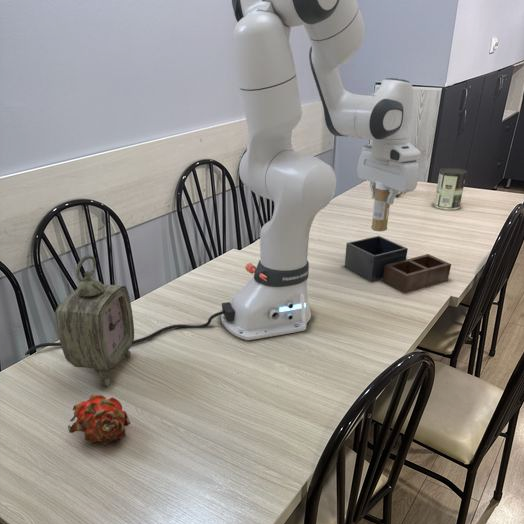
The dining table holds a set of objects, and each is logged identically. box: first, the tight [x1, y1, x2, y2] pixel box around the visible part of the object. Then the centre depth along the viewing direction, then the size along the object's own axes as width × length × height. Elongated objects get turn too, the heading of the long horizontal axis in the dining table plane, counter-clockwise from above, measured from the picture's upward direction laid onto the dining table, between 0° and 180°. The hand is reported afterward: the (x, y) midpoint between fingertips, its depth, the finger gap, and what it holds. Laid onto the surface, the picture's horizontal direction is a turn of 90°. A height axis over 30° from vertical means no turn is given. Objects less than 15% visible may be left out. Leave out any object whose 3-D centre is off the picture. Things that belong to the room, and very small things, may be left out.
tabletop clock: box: [54, 254, 135, 387], centre depth 99 cm, size 14×9×25 cm, turn 170°
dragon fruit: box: [67, 394, 132, 445], centre depth 87 cm, size 8×8×12 cm
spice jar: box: [371, 181, 391, 232], centre depth 140 cm, size 5×5×13 cm
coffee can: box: [433, 167, 468, 211], centre depth 201 cm, size 10×10×14 cm
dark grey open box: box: [343, 235, 409, 283], centre depth 148 cm, size 12×12×8 cm
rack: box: [382, 253, 452, 294], centre depth 142 cm, size 17×9×5 cm, turn 120°
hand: (382, 201), depth 139 cm, fingers closed on spice jar, 4 cm apart
